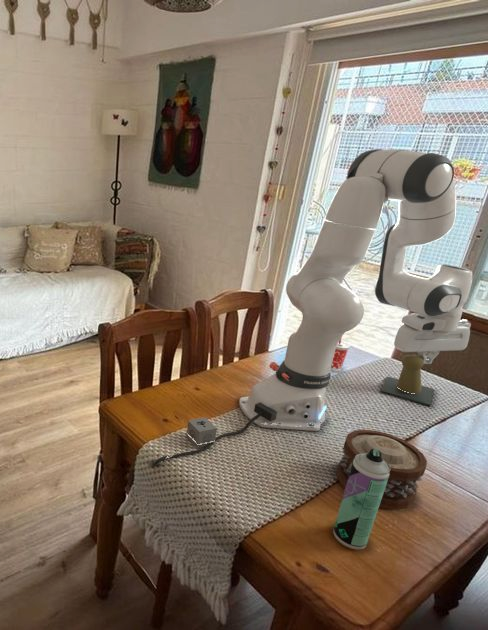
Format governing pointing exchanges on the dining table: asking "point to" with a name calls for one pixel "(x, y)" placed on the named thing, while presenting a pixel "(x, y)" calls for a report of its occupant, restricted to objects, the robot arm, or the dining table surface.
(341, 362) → the beverage cup
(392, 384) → the plate
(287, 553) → the dining table surface
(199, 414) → the dining table surface
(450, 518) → the dining table surface
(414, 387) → the olive tapered cylinder
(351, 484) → the spray can
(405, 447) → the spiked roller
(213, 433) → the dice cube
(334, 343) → the robot arm
